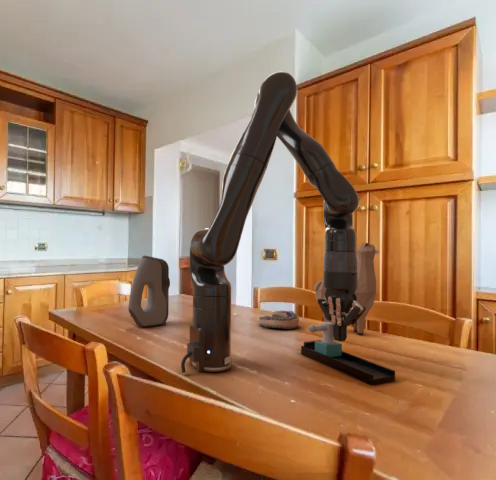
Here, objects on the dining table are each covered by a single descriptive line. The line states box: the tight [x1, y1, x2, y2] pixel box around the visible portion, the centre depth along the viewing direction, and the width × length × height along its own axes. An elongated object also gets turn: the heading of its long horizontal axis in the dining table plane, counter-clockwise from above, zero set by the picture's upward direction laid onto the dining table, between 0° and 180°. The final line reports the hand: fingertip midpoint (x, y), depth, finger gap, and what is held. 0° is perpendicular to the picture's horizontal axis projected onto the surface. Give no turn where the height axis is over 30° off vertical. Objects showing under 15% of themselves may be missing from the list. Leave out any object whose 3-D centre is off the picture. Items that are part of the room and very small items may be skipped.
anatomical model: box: [258, 310, 300, 330], centre depth 120 cm, size 12×16×5 cm
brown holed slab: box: [127, 255, 171, 328], centre depth 119 cm, size 6×15×25 cm, turn 125°
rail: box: [300, 339, 396, 386], centre depth 81 cm, size 7×21×3 cm, turn 21°
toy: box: [312, 242, 380, 336], centre depth 112 cm, size 9×20×30 cm, turn 78°
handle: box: [308, 321, 343, 357], centre depth 85 cm, size 8×4×8 cm, turn 111°
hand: (339, 340), depth 82 cm, fingers closed
